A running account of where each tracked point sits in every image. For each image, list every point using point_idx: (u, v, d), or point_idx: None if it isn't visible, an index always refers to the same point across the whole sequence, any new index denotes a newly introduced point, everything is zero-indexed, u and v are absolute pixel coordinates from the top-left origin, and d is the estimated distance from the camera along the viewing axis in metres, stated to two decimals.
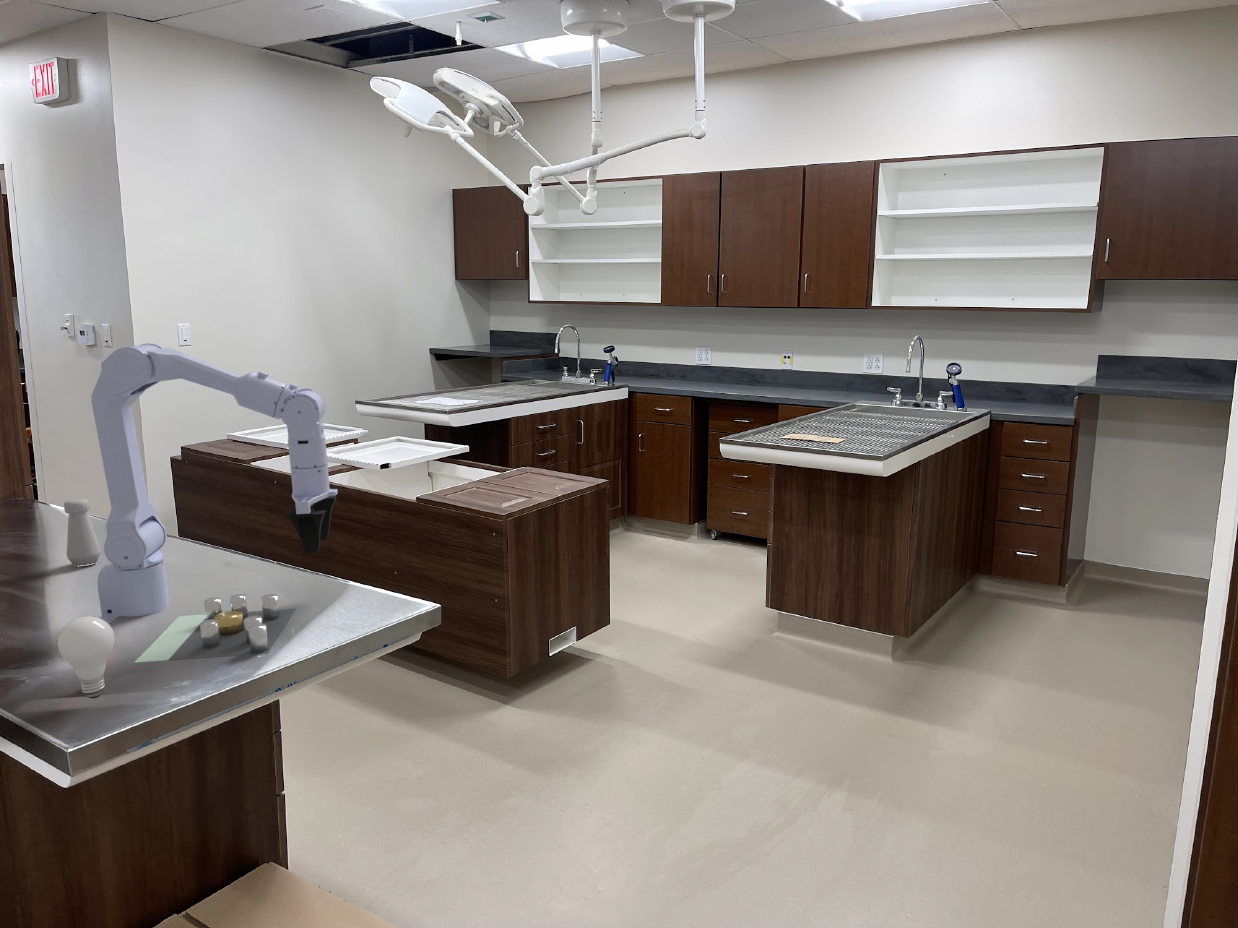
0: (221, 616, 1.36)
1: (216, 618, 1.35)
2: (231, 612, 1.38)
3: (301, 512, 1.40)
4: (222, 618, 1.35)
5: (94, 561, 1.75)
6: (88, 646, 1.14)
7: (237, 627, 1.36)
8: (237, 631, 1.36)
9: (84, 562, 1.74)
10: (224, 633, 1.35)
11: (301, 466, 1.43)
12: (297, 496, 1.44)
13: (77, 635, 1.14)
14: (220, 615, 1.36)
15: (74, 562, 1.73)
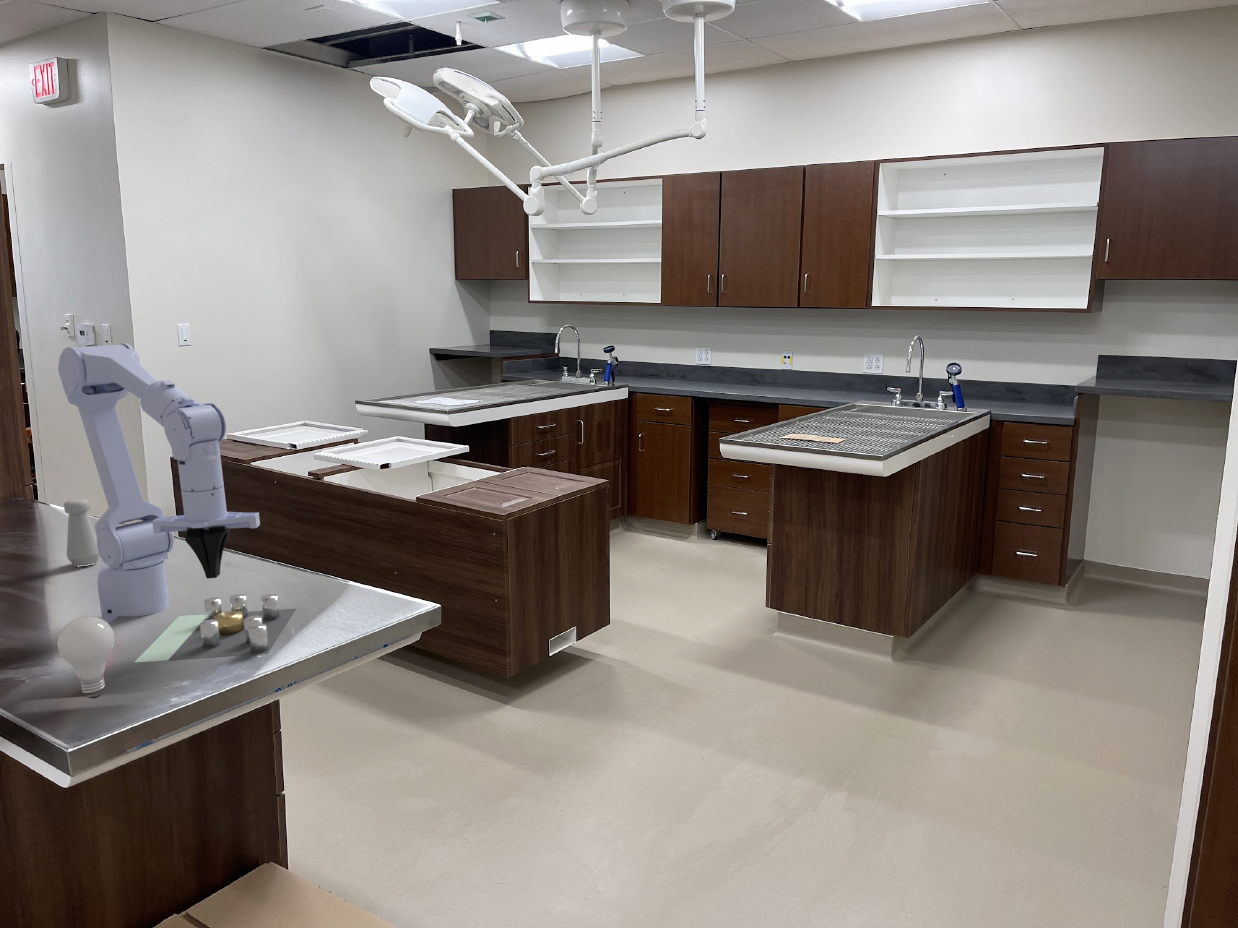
0: (221, 616, 1.36)
1: (216, 618, 1.35)
2: (231, 612, 1.38)
3: None
4: (222, 618, 1.35)
5: (94, 561, 1.75)
6: (87, 646, 1.14)
7: (237, 627, 1.35)
8: (237, 631, 1.36)
9: (84, 562, 1.74)
10: (224, 633, 1.35)
11: (182, 488, 1.30)
12: None
13: (77, 635, 1.14)
14: (220, 615, 1.36)
15: (74, 562, 1.73)
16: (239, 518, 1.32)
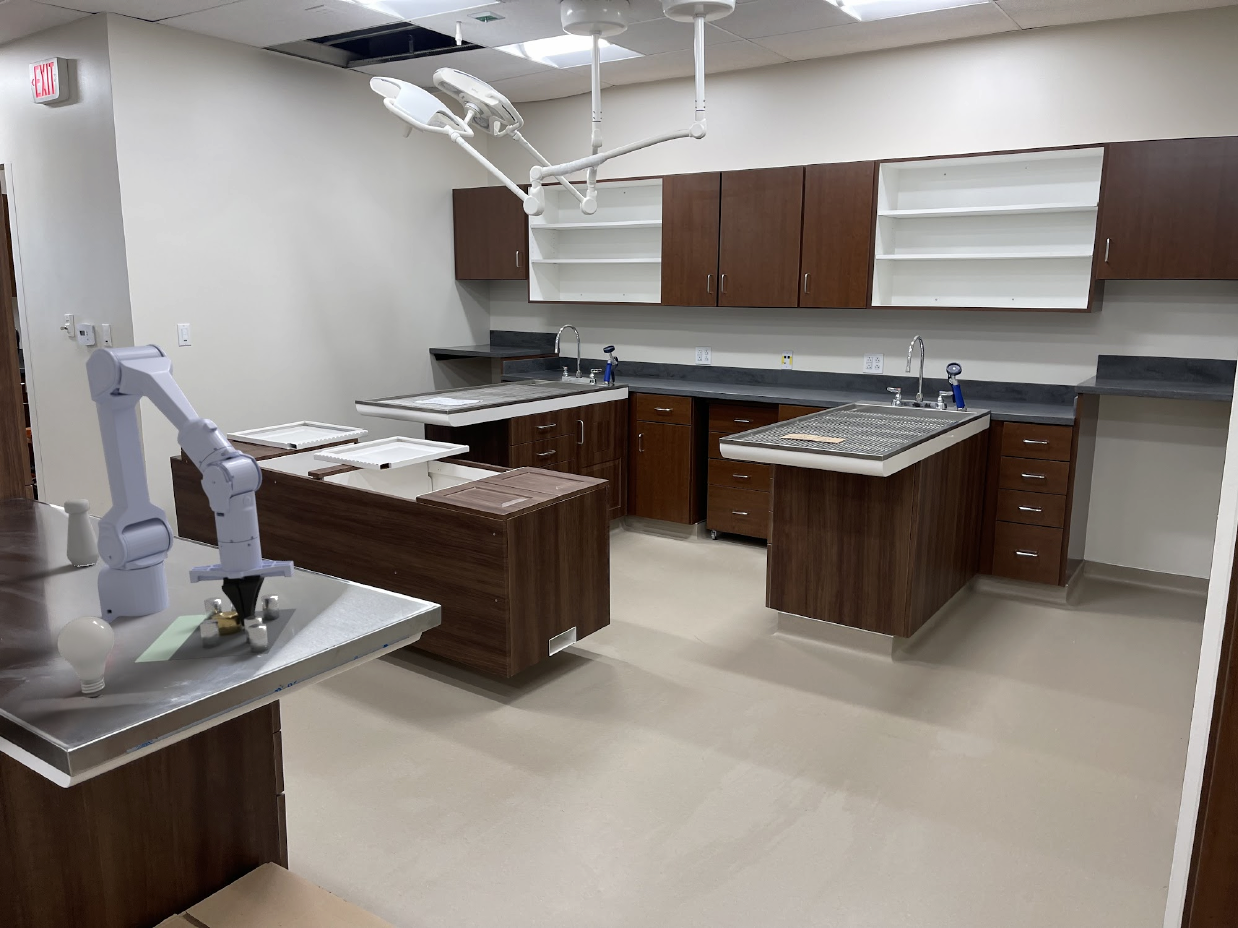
0: (219, 616, 1.36)
1: (214, 618, 1.35)
2: (229, 612, 1.37)
3: None
4: (220, 618, 1.35)
5: (94, 561, 1.75)
6: (87, 646, 1.14)
7: (235, 627, 1.35)
8: (235, 631, 1.35)
9: (84, 562, 1.74)
10: (222, 633, 1.35)
11: (220, 539, 1.32)
12: None
13: (77, 635, 1.14)
14: (218, 615, 1.36)
15: (74, 562, 1.73)
16: (274, 567, 1.34)
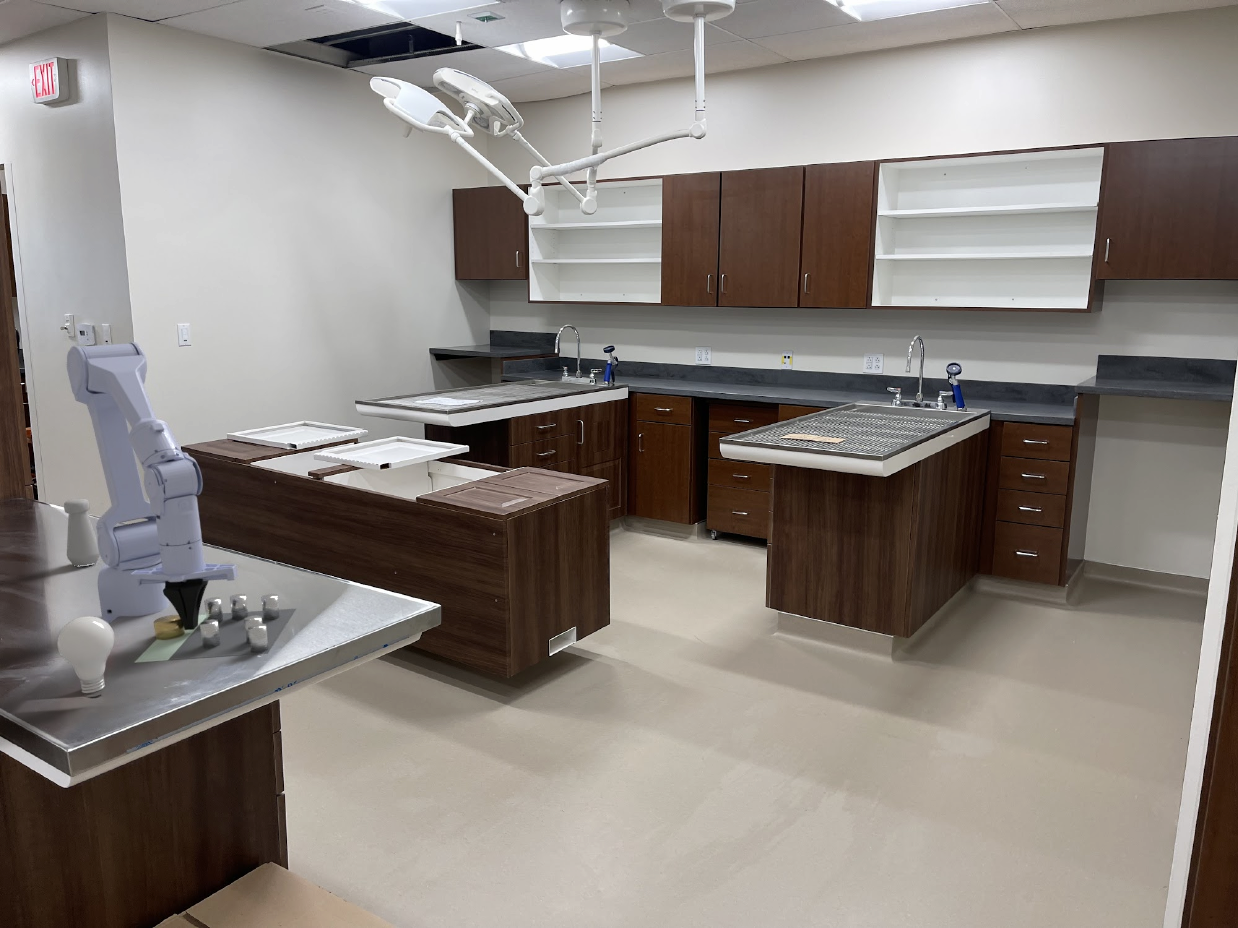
0: (161, 620, 1.35)
1: (156, 622, 1.34)
2: (172, 616, 1.36)
3: None
4: (162, 622, 1.34)
5: (94, 561, 1.75)
6: (87, 646, 1.14)
7: (178, 631, 1.34)
8: (177, 635, 1.34)
9: (84, 562, 1.74)
10: (164, 637, 1.34)
11: (159, 541, 1.31)
12: None
13: (77, 635, 1.14)
14: (160, 619, 1.35)
15: (74, 562, 1.73)
16: (217, 571, 1.33)
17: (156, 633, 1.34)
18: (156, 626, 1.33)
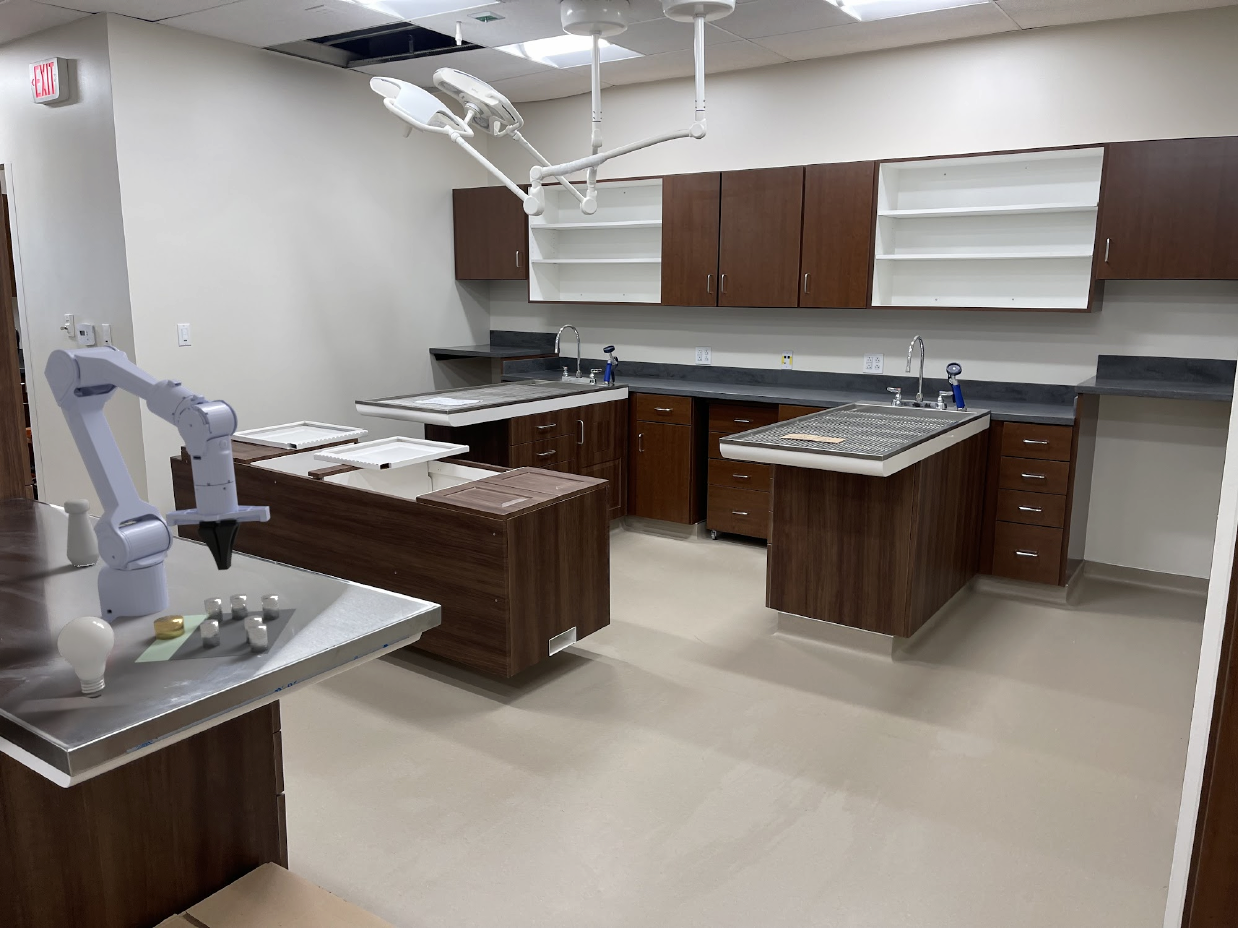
0: (161, 620, 1.35)
1: (156, 622, 1.34)
2: (172, 616, 1.36)
3: None
4: (162, 622, 1.34)
5: (94, 561, 1.75)
6: (88, 646, 1.14)
7: (178, 631, 1.34)
8: (177, 635, 1.34)
9: (84, 562, 1.74)
10: (164, 637, 1.34)
11: (196, 483, 1.34)
12: None
13: (77, 635, 1.14)
14: (160, 619, 1.35)
15: (74, 562, 1.73)
16: (250, 511, 1.36)
17: (156, 633, 1.34)
18: (156, 626, 1.33)
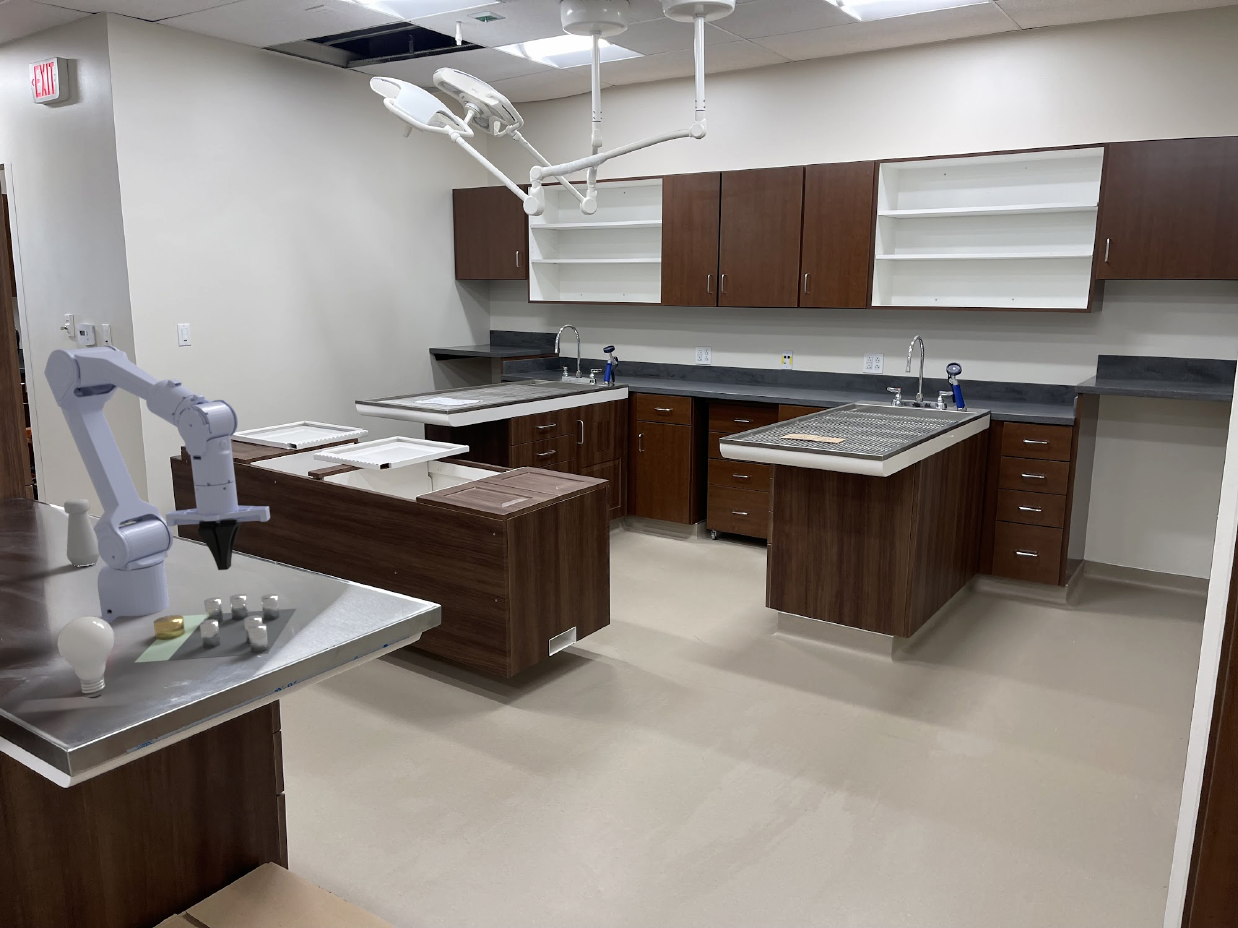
0: (161, 620, 1.35)
1: (156, 622, 1.34)
2: (172, 616, 1.36)
3: None
4: (162, 622, 1.34)
5: (94, 561, 1.75)
6: (88, 646, 1.14)
7: (178, 631, 1.34)
8: (177, 635, 1.34)
9: (84, 562, 1.74)
10: (164, 637, 1.34)
11: (196, 483, 1.34)
12: None
13: (77, 635, 1.14)
14: (160, 619, 1.35)
15: (74, 562, 1.73)
16: (250, 511, 1.36)
17: (156, 633, 1.34)
18: (156, 626, 1.33)
